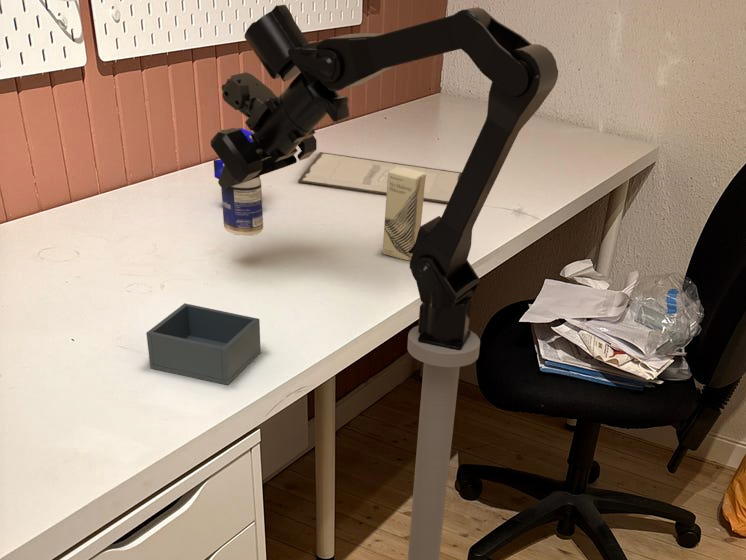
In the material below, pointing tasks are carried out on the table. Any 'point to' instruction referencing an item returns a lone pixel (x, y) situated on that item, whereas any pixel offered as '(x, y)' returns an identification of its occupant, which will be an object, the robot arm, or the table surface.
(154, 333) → the bin
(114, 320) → the table surface
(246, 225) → the pill bottle
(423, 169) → the picture frame
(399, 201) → the box
